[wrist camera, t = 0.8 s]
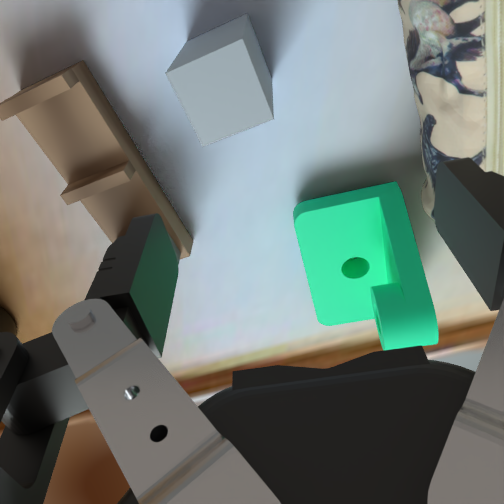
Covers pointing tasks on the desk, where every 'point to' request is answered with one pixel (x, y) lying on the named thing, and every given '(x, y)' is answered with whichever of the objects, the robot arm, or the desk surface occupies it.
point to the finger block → (223, 81)
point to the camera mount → (366, 264)
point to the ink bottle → (7, 323)
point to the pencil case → (456, 82)
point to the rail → (94, 153)
